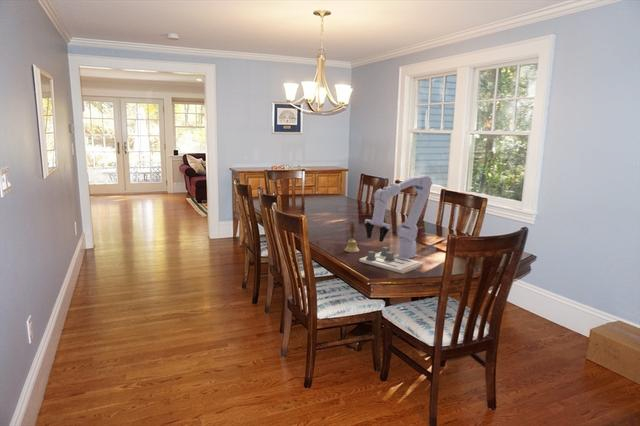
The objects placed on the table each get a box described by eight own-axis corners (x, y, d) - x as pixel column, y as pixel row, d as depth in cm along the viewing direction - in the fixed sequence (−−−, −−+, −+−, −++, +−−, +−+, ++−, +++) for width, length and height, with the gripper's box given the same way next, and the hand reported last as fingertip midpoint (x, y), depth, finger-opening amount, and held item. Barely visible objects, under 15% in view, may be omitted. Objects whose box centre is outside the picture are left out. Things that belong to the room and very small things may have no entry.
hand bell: (343, 252, 242) (344, 223, 239) (345, 248, 250) (346, 220, 247) (358, 252, 241) (359, 224, 238) (359, 248, 249) (360, 221, 246)
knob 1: (370, 257, 226) (371, 250, 226) (376, 259, 224) (376, 251, 223) (365, 259, 224) (366, 251, 223) (371, 260, 221) (371, 253, 220)
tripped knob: (388, 258, 226) (389, 251, 225) (394, 259, 223) (395, 252, 223) (384, 259, 223) (384, 252, 222) (390, 261, 221) (390, 254, 220)
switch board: (380, 254, 238) (380, 251, 238) (423, 265, 220) (423, 262, 220) (359, 261, 225) (359, 258, 225) (402, 273, 208) (402, 270, 207)
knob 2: (384, 253, 235) (385, 246, 234) (390, 254, 232) (390, 247, 232) (380, 254, 232) (380, 247, 231) (385, 256, 230) (386, 249, 229)
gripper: (362, 210, 224) (358, 236, 226) (386, 216, 215) (381, 243, 216) (371, 210, 230) (367, 236, 231) (394, 216, 220) (390, 242, 222)
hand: (374, 239), depth 224 cm, fingers open, 7 cm apart
